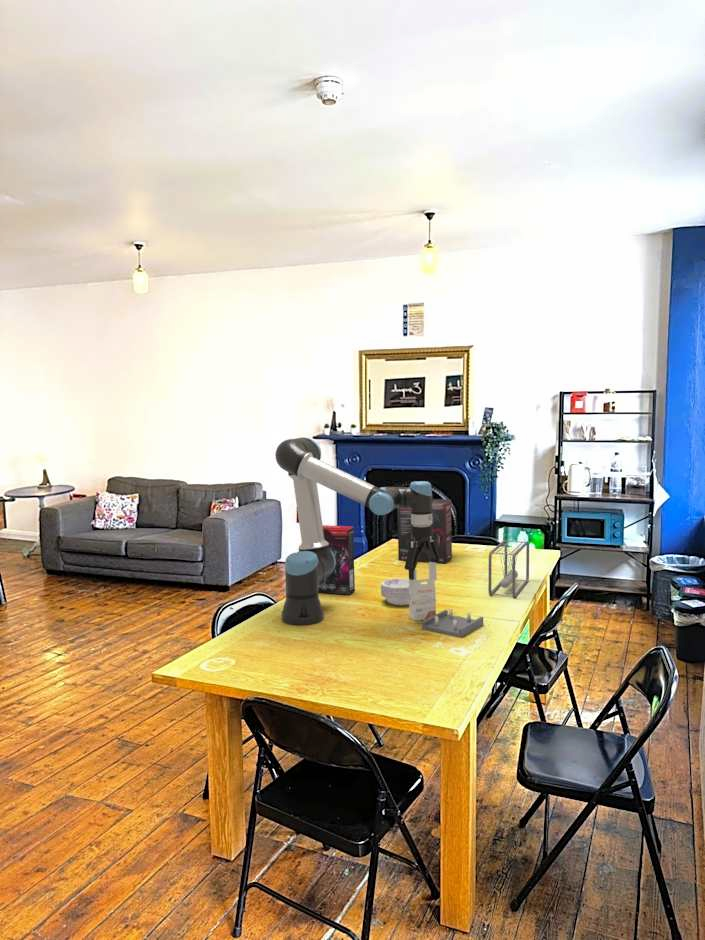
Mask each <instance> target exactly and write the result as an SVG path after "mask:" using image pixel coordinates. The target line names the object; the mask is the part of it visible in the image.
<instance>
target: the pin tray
mask: <svg viewBox="0 0 705 940" xmlns="http://www.w3.org/2000/svg"><path fill="white" fill-rule="evenodd" d="M448 612H449V614H448ZM453 612H454V611H453V609H452V608H450V609H449V610H447V609H445V610H442V611H440V612H438V613H436V615H434V616H432V617H430V618H428V619H425V620H421V630H424V631H429V632H434V633H438V634H443V635H447V636H452V637H456V638H461V639H462V638H463V637H465V636H467V635H469V634H470V633H472V632H473V631H475V630H477V629H478V628H480V627H482V626H484V617H483V616H480V617H478V618H475V619H474V618H471V617H472V616H471V614H472V613H471V612H467V613H466V616H467V617H464V616H458V615H454V613H453Z"/></svg>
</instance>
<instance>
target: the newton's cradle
mask: <svg viewBox="0 0 705 940" xmlns="http://www.w3.org/2000/svg"><path fill="white" fill-rule="evenodd" d="M510 543H519V544H517V545H516V546H515V547H514V548H513V549H512V550H511V546H510ZM525 547H526V550H525V551H526V558H525V561H526V562H525V563H526V567H525V569H526V570H525V571H526V572H525V575H526V576H525V580H524V579H517V578H518V576H519V573H518V571H517V570H516V565H517V562H516V561H517V559H518V557H517V556H518V555H519V553H520V552H522V550H523V549H524V548H525ZM502 550H503V551H502ZM493 554H494V555H495V554H496V555H500V558H502V559H503V561H504V562H502V560H500V563H501V564H504V566H503V565H501V567H502V570H503V571H502V572H503V573H502V574H503V578H502V579H501V580H500V582H498V584H497V585H496V586H495V587H494V588H492V558H493V557H492V556H493ZM501 555H504V557H502V556H501ZM508 557H509V558H508ZM529 580H530V542H529V541H527V540H526V541H518V540H516V541H515V540H507V539H503V540H502V541H501V542H500V543H499V544H498V545H496V546H495V547H494V548H493V549H491V550H490V552H489V553H488V584H487V585H488V587H487V588H488V595H489V596H493V595H494V596H495V595H496V596H503V597H504V596H505V597H512V598H513V599H514V598H517V597H518V595H519V594H520V592H521V591H522V590H523V589H524V587H525V586H526V585H528V582H529ZM516 581H517V582H518V581H519V582H523V583H522V584H521V585H520V586H519V588H518V589H517V590H516ZM510 586H512V587H511V595H510V594H499V593H496V591H497V590H499V588H500V587H502V588H504V589H507V588H509V587H510Z"/></svg>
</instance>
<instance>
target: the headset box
mask: <svg viewBox="0 0 705 940" xmlns="http://www.w3.org/2000/svg"><path fill="white" fill-rule="evenodd" d="M396 509H397V511H396V512H397V545H398V546H397V548H398V550H397V553H398V555H397V556H398V561H404V562H406V559H407V554H408V550H409V542H410V541H412V542H414V540H415V538H414V537H413V536H412V534H411V527H412V526H413V525H412V524H411V508H396ZM432 517H433V519H432V524H431V525H432V526H433V535H432V536H435V543H436V546H437V549H438V553H439V556H440V559H439V562H436V564H447V563H448V562H449V561H451V559H452V558H453V548H452V547H453V546H452V545H453V542H452V541H453V536H452V533H453V532H452V530H453V529H452V499H444V498H442V499H441V498H440V499H437V498H434V495H433V494H432ZM416 550H417V549H416ZM435 556H436V555H435ZM418 562H419V563H429V562H431V561H430V559H429V558H428V556H427V554H426V552H425V551H424V552H423V553H422V554H421V555H420V557H419V560H418Z"/></svg>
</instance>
